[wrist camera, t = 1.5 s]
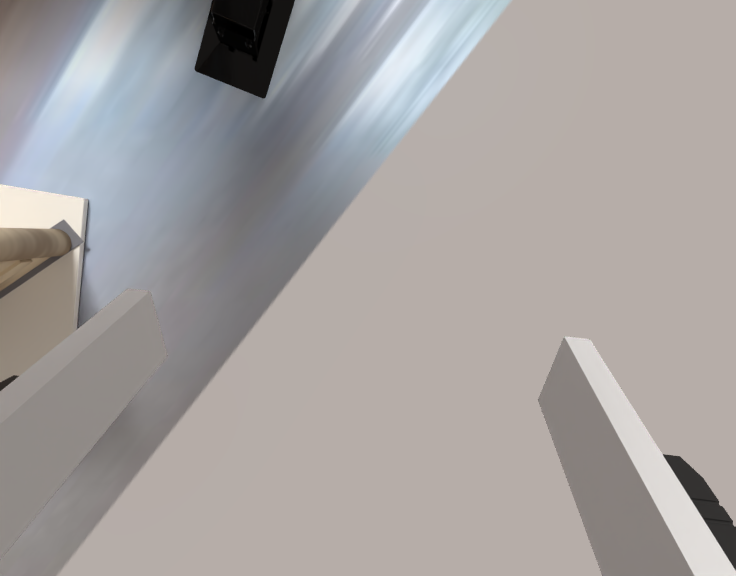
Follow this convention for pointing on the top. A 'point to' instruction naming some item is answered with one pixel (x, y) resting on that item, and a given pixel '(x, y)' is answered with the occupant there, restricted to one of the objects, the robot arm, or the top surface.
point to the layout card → (40, 279)
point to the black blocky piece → (243, 42)
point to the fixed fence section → (28, 250)
